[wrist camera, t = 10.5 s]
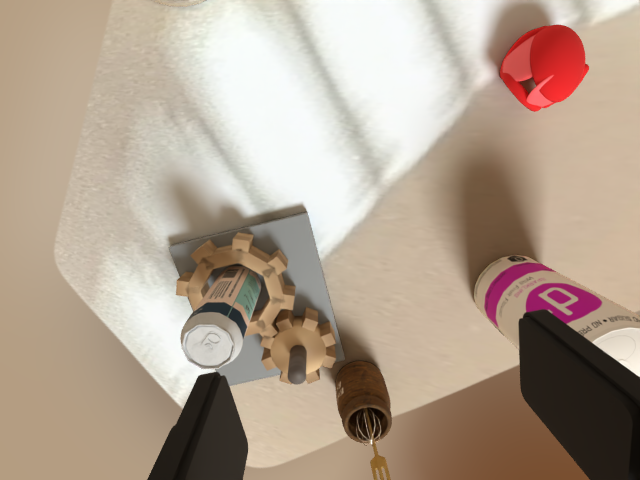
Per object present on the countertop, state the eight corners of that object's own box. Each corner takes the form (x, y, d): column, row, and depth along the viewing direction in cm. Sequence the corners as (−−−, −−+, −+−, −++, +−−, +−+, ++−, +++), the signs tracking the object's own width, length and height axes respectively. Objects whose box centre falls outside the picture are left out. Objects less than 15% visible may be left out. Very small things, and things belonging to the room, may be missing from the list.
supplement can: (458, 277, 39) (545, 357, 24) (525, 239, 38) (657, 298, 23) (489, 331, 41) (586, 433, 26) (553, 295, 40) (691, 382, 25)
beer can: (209, 289, 37) (164, 354, 26) (232, 255, 36) (196, 306, 25) (246, 312, 38) (219, 385, 27) (270, 279, 37) (252, 340, 26)
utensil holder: (375, 352, 41) (400, 433, 30) (388, 394, 43) (417, 486, 31) (328, 366, 42) (335, 451, 30) (343, 407, 43) (355, 502, 32)
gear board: (172, 244, 37) (168, 247, 36) (307, 211, 36) (307, 213, 35) (224, 382, 42) (222, 387, 41) (344, 355, 41) (344, 360, 40)
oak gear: (171, 248, 36) (161, 256, 34) (277, 222, 36) (275, 228, 33) (207, 342, 39) (200, 355, 37) (305, 320, 39) (305, 331, 36)
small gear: (250, 323, 39) (239, 358, 32) (317, 295, 38) (318, 326, 32) (282, 379, 41) (276, 422, 35) (345, 354, 40) (352, 393, 34)
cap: (547, 134, 32) (621, 83, 28) (510, 101, 29) (586, 38, 25) (516, 88, 36) (576, 38, 33) (482, 55, 34) (543, -4, 30)
